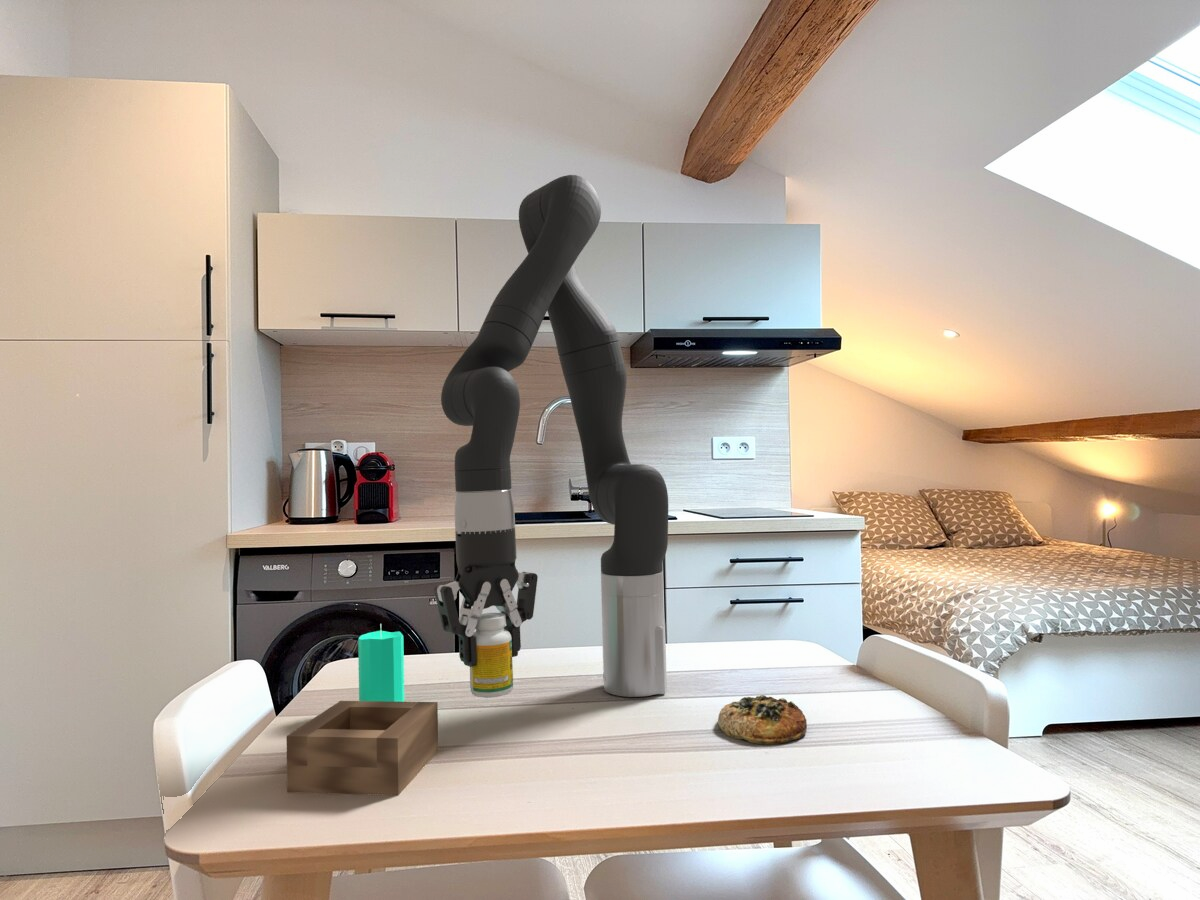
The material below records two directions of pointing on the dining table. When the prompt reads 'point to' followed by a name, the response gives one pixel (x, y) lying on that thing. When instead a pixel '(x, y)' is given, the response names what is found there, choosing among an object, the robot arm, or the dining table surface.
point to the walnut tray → (362, 748)
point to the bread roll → (763, 720)
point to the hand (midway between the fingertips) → (490, 659)
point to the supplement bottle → (492, 657)
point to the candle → (381, 666)
